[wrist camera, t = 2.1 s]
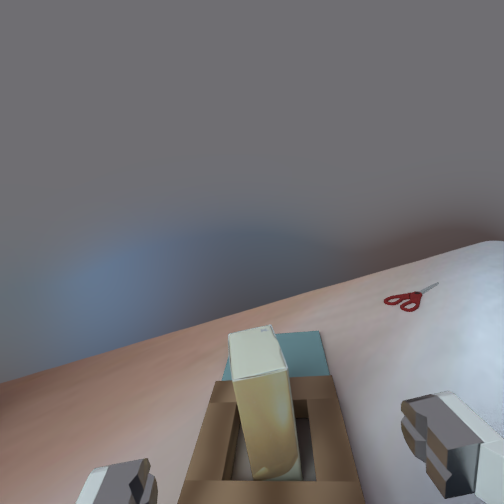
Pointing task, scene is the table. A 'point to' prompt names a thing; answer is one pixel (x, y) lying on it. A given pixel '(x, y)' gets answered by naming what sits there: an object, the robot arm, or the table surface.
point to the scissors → (413, 297)
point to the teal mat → (298, 355)
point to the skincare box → (265, 404)
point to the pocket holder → (274, 492)
